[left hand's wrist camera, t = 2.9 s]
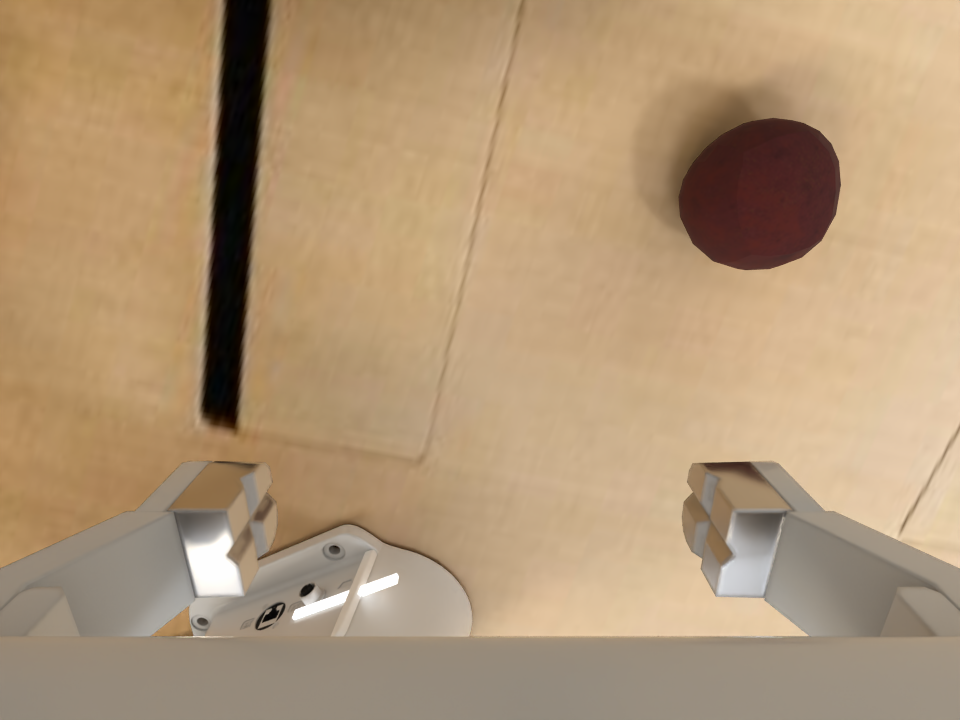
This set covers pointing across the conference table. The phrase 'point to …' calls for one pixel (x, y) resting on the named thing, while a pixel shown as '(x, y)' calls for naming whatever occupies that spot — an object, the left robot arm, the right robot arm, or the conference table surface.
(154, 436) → the conference table surface
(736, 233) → the potato
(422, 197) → the conference table surface
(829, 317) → the conference table surface
